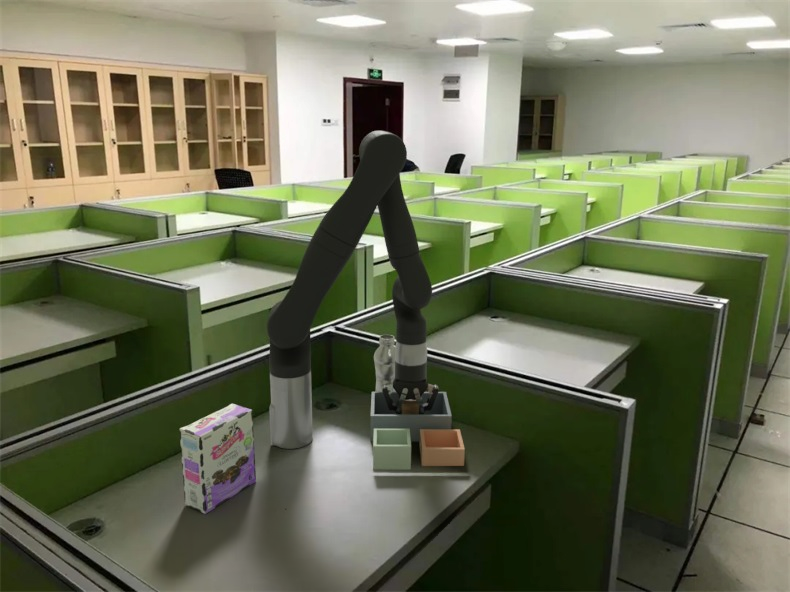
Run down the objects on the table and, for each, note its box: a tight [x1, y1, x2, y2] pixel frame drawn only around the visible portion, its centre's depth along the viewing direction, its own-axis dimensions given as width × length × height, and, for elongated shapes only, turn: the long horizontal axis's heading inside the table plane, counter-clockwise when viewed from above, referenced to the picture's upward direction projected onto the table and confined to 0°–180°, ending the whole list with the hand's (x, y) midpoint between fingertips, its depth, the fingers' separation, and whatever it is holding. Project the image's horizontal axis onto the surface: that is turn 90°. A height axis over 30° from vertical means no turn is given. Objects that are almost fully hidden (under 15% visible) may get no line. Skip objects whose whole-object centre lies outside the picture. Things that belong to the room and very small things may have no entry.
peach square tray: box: [419, 428, 466, 467], centre depth 138 cm, size 9×9×4 cm
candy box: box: [178, 403, 257, 515], centre depth 122 cm, size 14×6×16 cm, turn 148°
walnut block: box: [401, 399, 419, 415], centre depth 150 cm, size 4×4×7 cm
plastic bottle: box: [373, 334, 396, 392], centre depth 159 cm, size 6×7×20 cm
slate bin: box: [370, 391, 453, 443], centre depth 150 cm, size 19×14×7 cm
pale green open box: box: [372, 429, 412, 470], centre depth 136 cm, size 8×8×6 cm
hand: (409, 424), depth 151 cm, fingers closed on walnut block, 4 cm apart
